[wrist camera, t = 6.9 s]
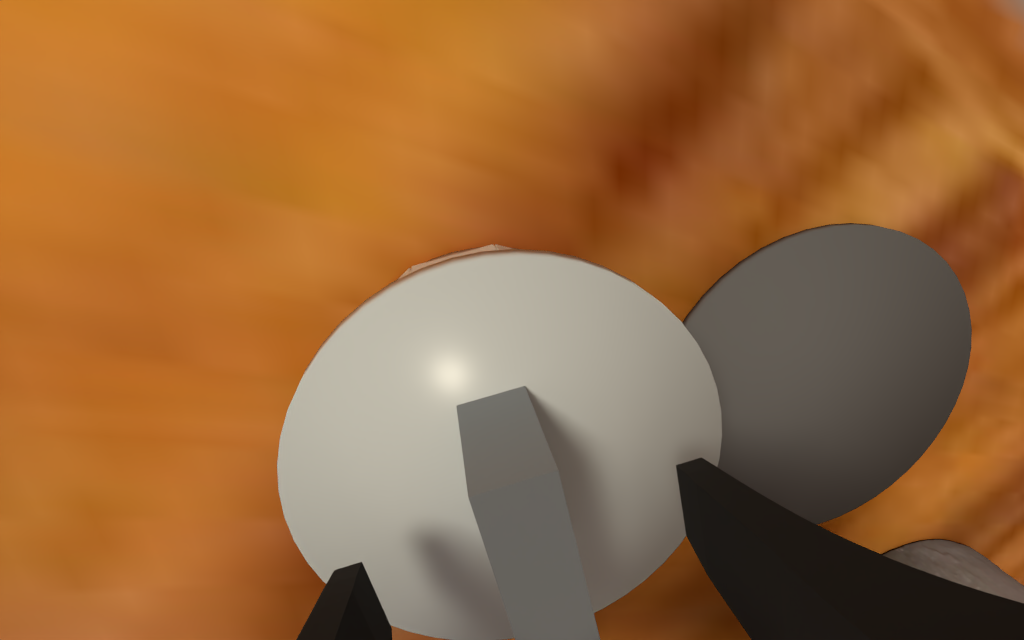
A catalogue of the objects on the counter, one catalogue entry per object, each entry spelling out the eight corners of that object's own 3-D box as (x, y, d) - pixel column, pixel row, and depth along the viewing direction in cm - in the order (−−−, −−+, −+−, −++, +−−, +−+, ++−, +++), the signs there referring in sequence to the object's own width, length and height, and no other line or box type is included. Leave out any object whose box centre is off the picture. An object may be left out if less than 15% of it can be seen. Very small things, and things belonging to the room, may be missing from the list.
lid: (724, 551, 18) (813, 677, 14) (370, 664, 17) (355, 831, 13) (683, 194, 14) (797, 227, 10) (205, 325, 13) (106, 419, 9)
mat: (950, 473, 24) (958, 479, 24) (674, 561, 23) (678, 568, 23) (975, 181, 19) (986, 183, 19) (628, 279, 19) (632, 282, 18)
